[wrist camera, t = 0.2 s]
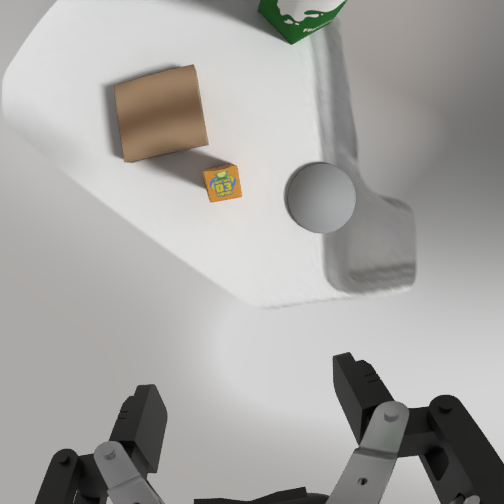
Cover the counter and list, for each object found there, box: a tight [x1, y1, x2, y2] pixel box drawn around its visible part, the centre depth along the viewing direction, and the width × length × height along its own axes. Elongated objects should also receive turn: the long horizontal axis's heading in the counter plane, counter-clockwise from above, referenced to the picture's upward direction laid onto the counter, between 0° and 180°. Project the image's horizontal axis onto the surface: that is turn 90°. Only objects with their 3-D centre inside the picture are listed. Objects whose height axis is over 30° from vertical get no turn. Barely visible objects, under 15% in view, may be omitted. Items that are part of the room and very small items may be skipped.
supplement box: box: [202, 164, 242, 202], centre depth 32 cm, size 3×3×10 cm
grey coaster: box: [288, 163, 356, 233], centre depth 38 cm, size 9×9×1 cm
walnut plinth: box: [114, 64, 209, 163], centre depth 33 cm, size 10×10×3 cm
